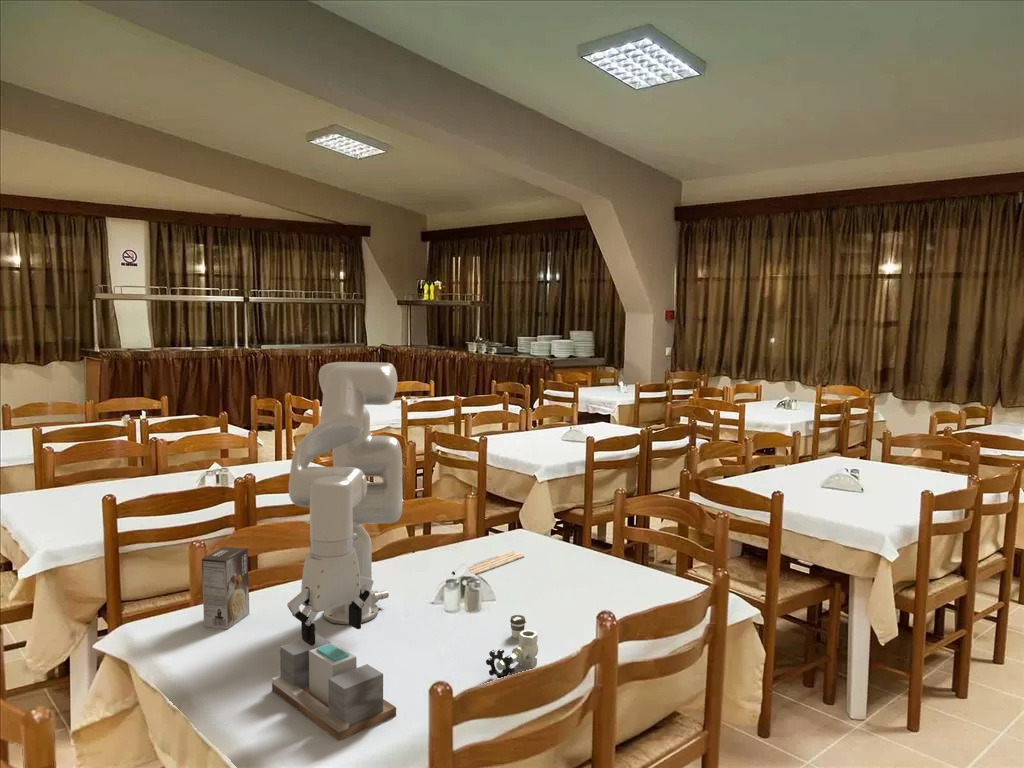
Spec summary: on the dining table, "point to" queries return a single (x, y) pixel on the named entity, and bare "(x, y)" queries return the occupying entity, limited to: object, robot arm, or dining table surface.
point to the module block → (327, 668)
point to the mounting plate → (332, 693)
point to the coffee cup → (517, 625)
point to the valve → (515, 655)
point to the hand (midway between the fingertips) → (332, 634)
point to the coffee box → (225, 587)
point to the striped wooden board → (494, 562)
